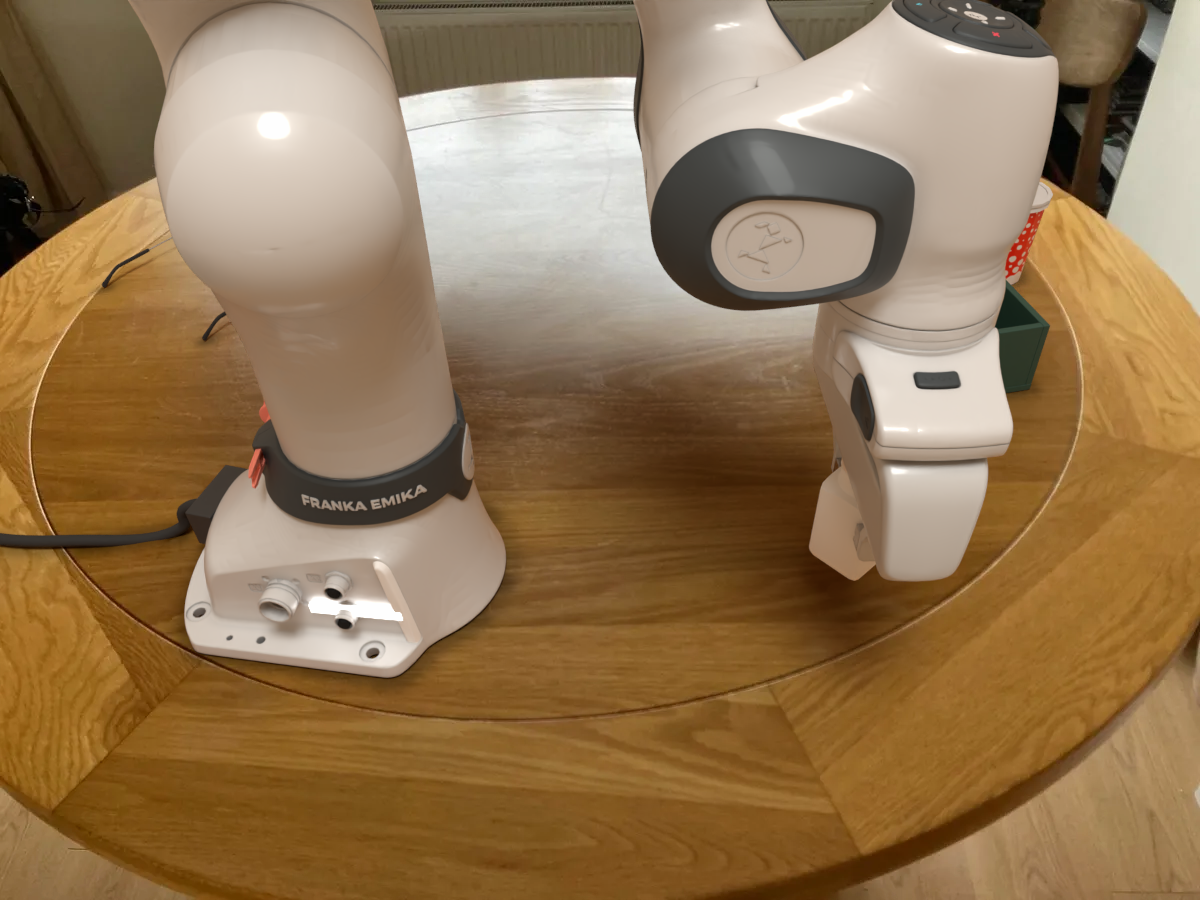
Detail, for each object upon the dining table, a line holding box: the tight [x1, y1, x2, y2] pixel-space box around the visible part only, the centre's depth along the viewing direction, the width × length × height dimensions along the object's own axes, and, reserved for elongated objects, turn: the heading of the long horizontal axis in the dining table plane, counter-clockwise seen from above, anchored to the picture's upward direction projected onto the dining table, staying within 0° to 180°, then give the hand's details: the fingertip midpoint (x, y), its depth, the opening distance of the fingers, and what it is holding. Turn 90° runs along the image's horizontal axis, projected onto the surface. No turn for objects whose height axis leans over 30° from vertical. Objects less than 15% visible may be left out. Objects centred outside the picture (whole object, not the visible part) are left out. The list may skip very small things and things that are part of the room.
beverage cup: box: [1005, 181, 1054, 286], centre depth 91 cm, size 6×6×14 cm
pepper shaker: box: [808, 458, 876, 581], centre depth 59 cm, size 4×4×10 cm
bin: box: [995, 280, 1051, 394], centre depth 83 cm, size 12×11×7 cm
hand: (857, 515), depth 60 cm, fingers closed on pepper shaker, 5 cm apart
